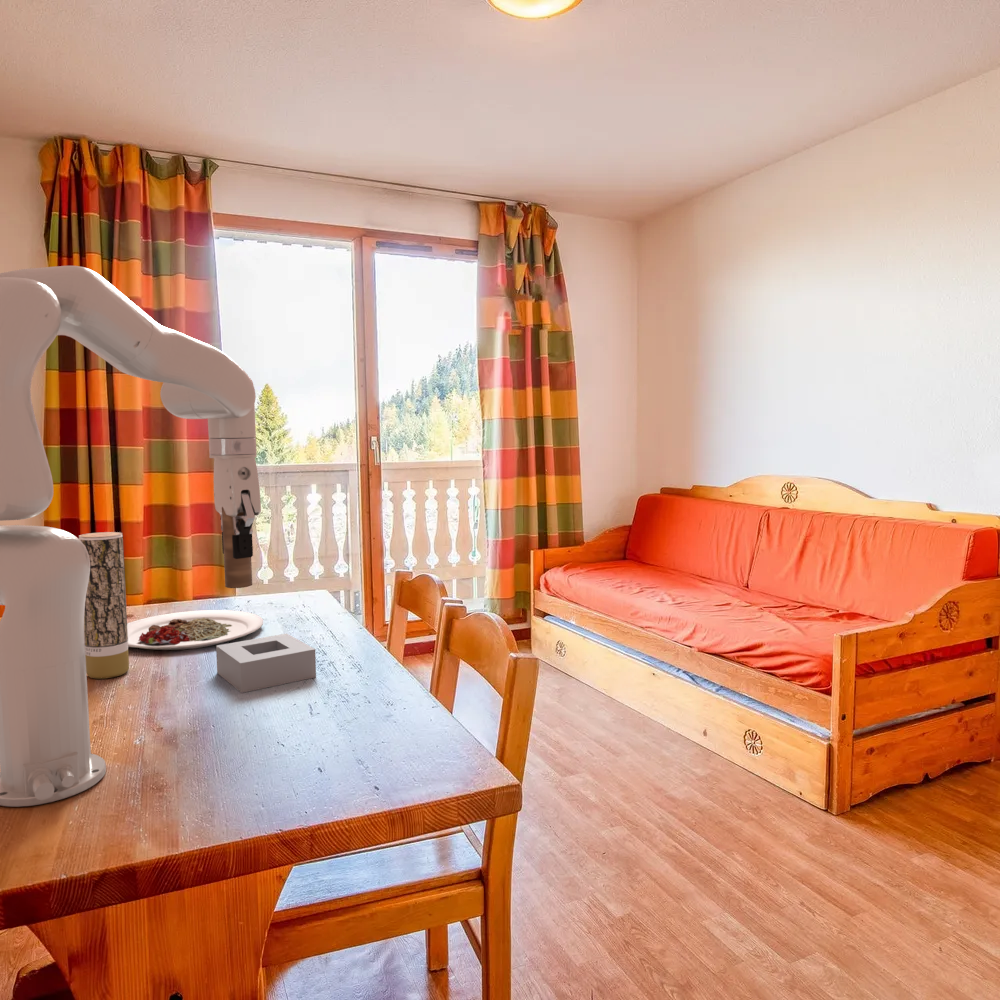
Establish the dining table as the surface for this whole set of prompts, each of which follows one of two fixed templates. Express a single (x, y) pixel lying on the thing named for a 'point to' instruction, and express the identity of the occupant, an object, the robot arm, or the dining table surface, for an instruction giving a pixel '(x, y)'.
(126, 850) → the dining table surface
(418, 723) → the dining table surface
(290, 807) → the dining table surface
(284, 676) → the socket
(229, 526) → the peg
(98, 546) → the paper tube
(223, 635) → the plated food
